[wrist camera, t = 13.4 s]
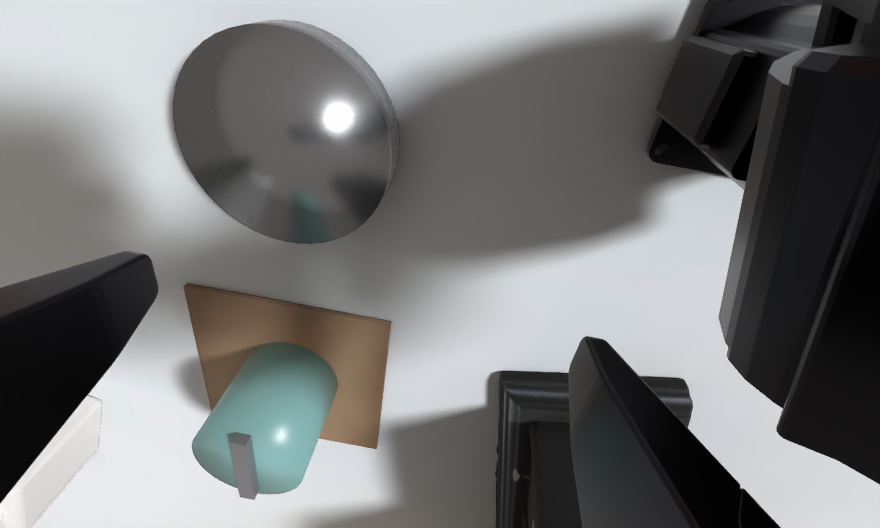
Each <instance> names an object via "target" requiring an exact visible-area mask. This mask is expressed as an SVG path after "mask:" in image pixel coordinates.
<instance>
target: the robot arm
mask: <svg viewBox="0 0 880 528" xmlns="http://www.w3.org/2000/svg"><path fill="white" fill-rule="evenodd" d="M656 110H657V112H658V114H659V119H658V121H657V123H656V126H655V128H654V131H653V133H652V135H651V138H650V140H649V143H648V145H647V149H646V152H647V155H648V156H649V158H650V159H651V160H652V161H653V162H656V163H660V164H665V165H671V166H676V167H682V168H687V169H693V170H698V171H704V172H709V173H715V174H720V175H726V176H729V177H730V178H731V179H732V180H733V181H734V182H736V183H737V184H738V185H739V186H740V187H742V188H743V189H744V194H743V199H742V204H741V209H740V214H739V219H738V224H737V229H736V234H735V239H734V244H733V249H732V254H731V259H730V264H729V268H728V273H727V278H726V283H725V288H724V293H723V298H722V303H721V308H720V313H719V321H720V325H721V328H722V332H723V336H724V339H725V342H726V344H727V345H728V347H729V348H728V352H727V357H728V360H729V361H730V362H731V363H732V365H733V366H734V367H735V368H736V369H737V370H738V372H739V373H740V374H741V375H742V376H743V378H744V379H745V380H746V381H748V382H749V383H750V384H751V385H753V386H754V387H755V388H756V389H758V390H759V391H760V392H761V393H763V394H764V395H765V396H766V397H768V398H769V399H770V400H771V401H773V402H774V403H775V404H777V405H778V406H780V407H782V408H783V411H782V414H781V416H780V419H779V422H778V425H777V432H778V434H779V435H780V436H781V437H782V438H784V439H786V440H788V441H791V442H793V443H796V444H798V445H801V446H803V447H806V448H808V449H811V450H813V451H816V452H818V453H821V454H823V455H826V456H828V457H831V458H833V459H836V460H838V461H840V462H842V463H843V464H845V465H847V466H849V467H850V468H852V469H854V470H856V471H857V472H859V473H861V474H863V475H864V476H866V477H868V478H870V479H871V480H873V481H875V482H877V483H878V484H880V0H728V1H725V0H708V2H707V4H706V7H705V9H704V11H703V14H702V16H701V19H700V21H699V23H698V26H697V28H696V31H695V33H694V35H692V36H691V37H689V38H688V39H686V40H685V41H684V42H683V45H682V47H681V49H680V52H679V54H678V57H677V59H676V62H675V64H674V66H673V69H672V71H671V74H670V76H669V79H668V81H667V84H666V86H665V88H664V91H663V93H662V96H661V98H660V101H659V103H658V105H657V108H656ZM661 145H666V148H665V150H664V152H662V153H661V154H655V152H656V149H657V148H658V147H659V146H661ZM157 294H158V283H157V280H156V276H155V272H154V268H153V265H152V261H151V259H150V258H149V257H148V256H147V255H145V254H141V253H135V252H130V251H125V252H121V253H117V254H114V255H111V256H107V257H104V258H101V259H97V260H94V261H90V262H87V263H84V264H80V265H77V266H73V267H70V268H67V269H63V270H60V271H56V272H53V273H50V274H46V275H43V276H39V277H36V278H33V279H29V280H26V281H22V282H19V283H16V284H12V285H9V286H5V287H2V288H0V504H1V502H2V501H3V500H4V499H5V497H6V496H7V495H8V494H9V492H10V491H11V490H12V489H13V487H14V486H15V485H16V484H17V482H18V481H19V480H20V479H21V477H22V476H23V475H24V474H25V472H26V471H27V470H28V469H29V467H30V466H31V465H32V464H33V462H34V461H35V460H36V459H37V457H38V456H39V455H40V454H41V452H42V451H43V450H44V449H45V447H46V446H47V445H48V444H49V442H50V441H51V440H52V439H53V438H54V436H55V435H56V434H57V433H58V431H59V430H60V429H61V428H62V426H63V425H64V424H65V423H66V421H67V420H68V419H69V418H70V416H71V415H72V414H73V413H74V411H75V410H76V409H77V408H78V406H79V405H80V404H81V403H82V401H83V400H84V399H85V398H86V396H87V395H88V394H89V393H90V391H91V390H92V389H93V388H94V386H95V385H96V384H97V383H98V381H99V380H100V379H101V378H102V376H103V375H104V374H105V373H106V372H107V370H108V369H109V368H110V366H111V365H112V364H113V362H114V361H115V360H116V359H117V357H118V356H119V354H120V353H121V351H122V350H123V348H124V347H125V345H126V344H127V342H128V341H129V339H130V338H131V336H132V334H133V333H134V331H135V330H136V328H137V327H138V325H139V324H140V322H141V320H142V319H143V317H144V316H145V314H146V313H147V311H148V310H149V308H150V307H151V305H152V303H153V302H154V300H155V299H156V297H157ZM569 404H570V437H571V450H572V458H573V465H574V472H575V479H576V485H577V492H578V499H579V506H580V513H581V520H582V527H583V528H781V527H780V526H779V525H778V524H777V523H776V522H775V521H774V520H773V519H772V518H771V517H770V516H769V515H768V514H767V513H766V512H765V511H764V510H763V508H762V507H761V506H760V505H759V504H758V503H757V502H756V501H755V500H754V499H753V498H752V497H751V496H750V495H749V493H748V492H747V491H746V490H745V489H740V484H739V483H738V482H737V481H736V480H735V479H734V478H733V477H732V475H731V474H730V473H729V472H728V471H727V470H726V469H725V468H724V467H723V466H722V465H721V464H720V463H719V461H718V460H717V459H716V458H715V457H714V456H713V455H712V454H711V453H710V452H709V451H708V450H707V449H706V448H705V446H704V445H703V444H702V443H701V442H700V441H699V440H698V439H697V438H696V437H695V436H694V435H693V434H692V433H691V431H690V430H689V429H688V428H687V427H686V426H685V425H684V424H683V423H682V422H681V421H680V420H679V419H678V417H677V416H676V415H675V414H674V413H673V412H672V411H671V410H670V409H669V408H668V407H667V406H666V405H665V404H664V402H663V401H662V400H661V399H660V398H659V397H658V396H657V395H656V394H655V393H654V392H653V391H652V390H651V389H650V387H649V386H648V385H647V384H646V383H645V382H644V381H643V380H642V379H641V378H640V377H639V376H638V375H637V373H636V372H635V371H634V370H633V369H632V368H631V367H630V366H629V365H628V364H627V363H626V362H625V361H624V360H623V358H622V357H621V356H620V355H619V354H618V353H617V352H616V351H615V350H614V349H613V348H612V347H611V346H610V345H609V343H608V342H606V341H605V340H603V339H599V338H594V337H589V336H586V337H584V338H583V339H582V340H581V342H580V344H579V346H578V348H577V351H576V353H575V355H574V357H573V360H572V362H571V364H570V368H569Z"/></svg>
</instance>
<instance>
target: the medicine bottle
mask: <svg viewBox="0 0 880 528" xmlns="http://www.w3.org/2000/svg"><path fill="white" fill-rule="evenodd" d="M101 415H102V401H101V400H99V399H97V398H94V397H92V396H89V395H87V396H86V398H85V399H84V400H83V401H82V403H81V404H80V405H79V406H78V408H77V409H76V410H75V411H74V413H73V414H72V415H71V416H70V418H69V419H68V420H67V421H66V423H65V424H64V425H63V426H62V428H61V429H60V430H59V431H58V433H57V434H56V435H55V436H54V438H53V439H52V440H51V441H50V442H49V444H48V445H47V446H46V447H45V449H44V450H43V451H42V452H41V454H40V455H39V456H38V457H37V459H36V460H35V461H34V462H33V464H32V465H31V466H30V467H29V469H28V470H27V471H26V472H25V474H24V475H23V476H22V477H21V479H20V480H19V481H18V482H17V484H16V485H15V486H14V487H13V489H12V490H11V491H10V492H9V494H8V495H7V496H6V497H5V499H4V500H3V501H2V502H1V504H0V528H31V527H32V526H33V525H34V524H35V523H36V521H37V520H38V519H39V518H40V517H41V516H42V514H43V513H44V512H45V511H46V510H47V509H48V507H49V506H50V505H51V504H52V503H53V501H54V500H55V499H56V498H57V497H58V496H59V494H60V493H61V492H62V491H63V490H64V489H65V487H66V486H67V485H68V484H69V483H70V482H71V480H72V479H73V478H74V477H75V476H76V474H77V473H78V472H79V471H80V470H81V469H82V467H83V466H84V465H85V464H86V463H87V462H88V460H89V459H90V458H91V457H92V456H93V455H94V453H95V452H96V451H97V450H98V448H99V440H100V427H101Z"/></svg>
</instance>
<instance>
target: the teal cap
mask: <svg viewBox="0 0 880 528" xmlns="http://www.w3.org/2000/svg"><path fill="white" fill-rule="evenodd" d="M337 389H338V380H337V377H336V374H335V372H334V370H333V369H332V367H331V366H330V365H329V364H328V363H327V362H326V361H325V360H324V359H323V358H322V357H321V356H319V355H318V354H316V353H315V352H313V351H311V350H309V349H307V348H305V347H302V346H299V345H296V344H292V343H285V342H272V343H266V344H263V345H261V346H259V347H257V348H255V349H254V350H253V351H252V352H251V353H250V355H249V356H248V358H247V359H246V361H245V362H244V364H243V365H242V367H241V368H240V370H239V371H238V373H237V374H236V376H235V377H234V379H233V380H232V382H231V383H230V385H229V386H228V388H227V389H226V391H225V392H224V394H223V395H222V397H221V398H220V400H219V402H218V403H217V405H216V406H215V408H214V409H213V411H212V412H211V414H210V415H209V417H208V418H207V420H206V421H205V423H204V424H203V426H202V427H201V429H200V430H199V432H198V433H197V435H196V436H195V438H194V439H193V442H192V450H193V454H194V456H195V458H196V460H197V461H198V462H199V464H200V465H201V466H202V467H203V468H204V469H205V470H206V471H207V472H208V473H210V474H211V475H212V476H214V477H215V478H217V479H219V480H220V481H222V482H224V483H226V484H228V485H230V486H233V487H235V488H238V489H239V494H240V497H243V498H248V499H253V500H254V499H255V497H256V495H257V493H259V494H280V493H285V492H288V491H291V490H293V489H295V488H296V487H297V486H298V485H299V484H300V483H301V482H302V480H303V477H304V474H305V472H306V469H307V467H308V464H309V462H310V459H311V457H312V454H313V451H314V449H315V446H316V444H317V441H318V439H319V436H320V433H321V431H322V428H323V426H324V423H325V421H326V418H327V416H328V413H329V410H330V408H331V405H332V403H333V400H334V398H335V395H336V392H337Z"/></svg>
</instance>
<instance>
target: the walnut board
mask: <svg viewBox="0 0 880 528" xmlns="http://www.w3.org/2000/svg"><path fill="white" fill-rule="evenodd" d="M184 290H185V295H186V299H187V304H188V308H189V312H190V317H191V321H192V326H193V330H194V335H195V339H196V344H197V348H198V353H199V357H200V361H201V366H202V370H203V375H204V379H205V384H206V388H207V393H208V397H209V402H210V406H211V410H212V411H213V409H214V408H215V406H216V405H217V403H218V402H219V400H220V398H221V397H222V395H223V394H224V392H225V391H226V389H227V388H228V386H229V385H230V383H231V382H232V380H233V379H234V377H235V376H236V374H237V373H238V371H239V370H240V368H241V367H242V365H243V364H244V362H245V361H246V359H247V358H248V356H249V355H250V353H251V352H252V351H253V350H254V349H255V348H257V347H259V346H261V345H263V344H266V343H272V342H285V343H292V344H296V345H299V346H302V347H305V348H307V349H309V350H311V351H313V352H315V353H316V354H318V355H319V356H321V357H322V358H323V359H324V360H325V361H326V362H327V363H328V364H329V365H330V366H331V367H332V369H333V370H334V372H335V374H336V377H337V380H338V389H337V392H336V395H335V398H334V400H333V403H332V405H331V408H330V410H329V413H328V416H327V418H326V421H325V423H324V426H323V428H322V431H321V433H320V436H319V438H320V439H326V440H331V441H336V442H341V443H347V444H352V445H357V446H362V447H368V448H373V449H376V448H377V443H378V434H379V425H380V416H381V408H382V399H383V390H384V381H385V372H386V363H387V354H388V345H389V336H390V327H391V321H385V320H380V319H374V318H369V317H364V316H358V315H353V314H348V313H342V312H337V311H332V310H326V309H321V308H316V307H310V306H305V305H299V304H294V303H289V302H283V301H278V300H273V299H267V298H262V297H257V296H251V295H246V294H240V293H235V292H230V291H224V290H219V289H214V288H208V287H203V286H198V285H192V284H186V285H185V286H184Z"/></svg>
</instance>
